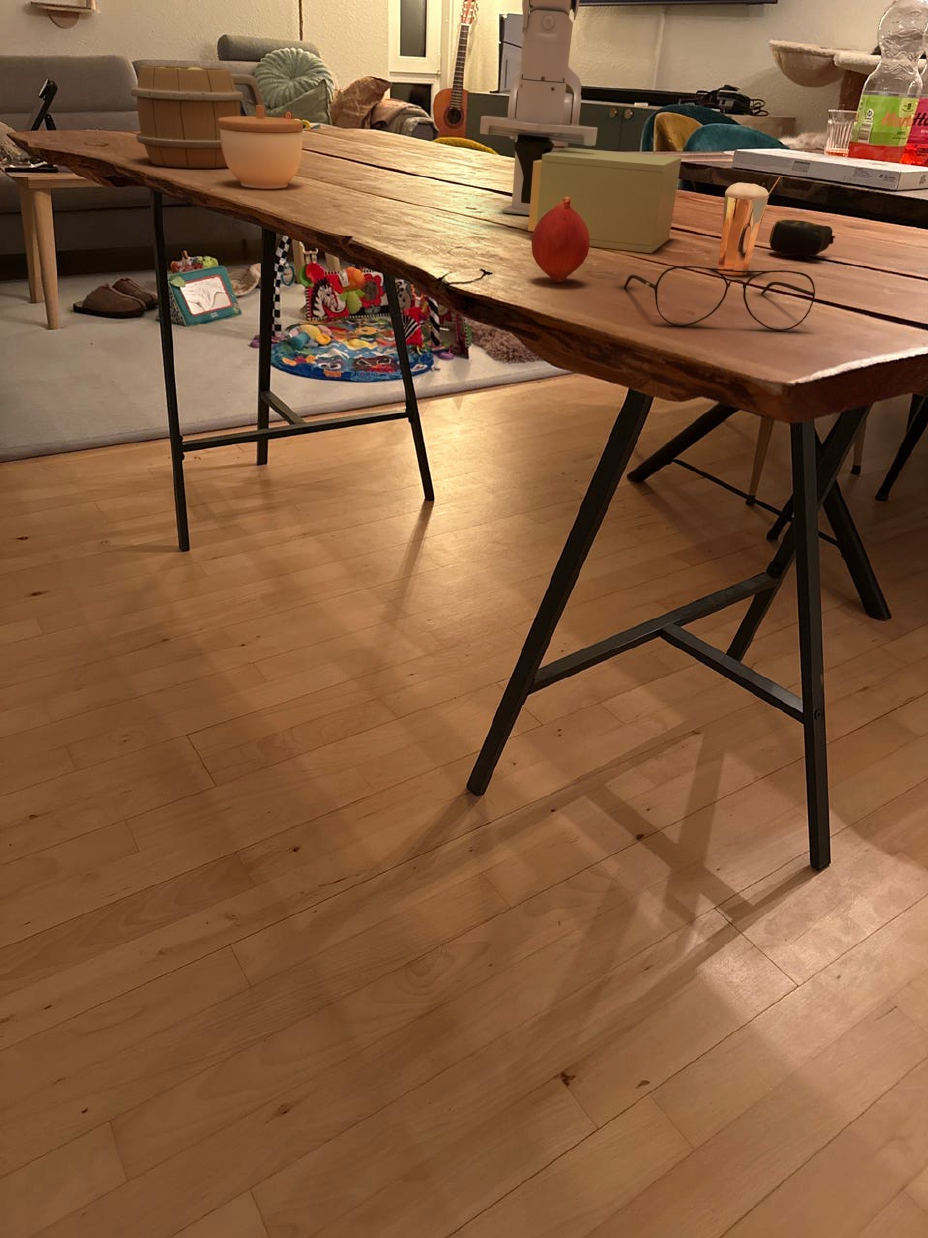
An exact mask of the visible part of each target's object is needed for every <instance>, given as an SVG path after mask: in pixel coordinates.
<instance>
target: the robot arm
mask: <svg viewBox="0 0 928 1238" xmlns="http://www.w3.org/2000/svg"><path fill="white" fill-rule="evenodd" d="M579 6H580V0H521V9H522V28H521V33H522V35H523V38H522V39H523V40H522V41H521V52H520V54H521V55H520V64H519V65H520V66H519V70H518V71H517V72H515V73H514V74H513V78H512V79H511V85H510V91H509V97H508V106H507V107H508V108H507V117H504V116H503V117H501V116H492V115H482V116H480V127H479V134H480V135H494V136H495V135H496V136H503V137H509V139H511V140H514V143H513V145H514V146H513V147H514V164H513V165H514V167H513V179H512V180H513V181H512V193H511V194H512V195H511V205H509V206H506V207H503V208H502V209H501V212H502V213H506V214H514V215H516V214H517V215H525V216H529V214H530V201H531V188H532V175H533V162H534V161H537V160H541V159H542V154H546V153H550V152H554V151H558V150H562V149H566V148H569V144H574V145H575V144H576V145H583V146H586V147H592V146H596V144H597V137H598V129H599V128H598V127H596V126H587V125H580V117H581V103H582V95H581V92H582V82H581V78H580V77H579V75H578V74H577V73H576V72H575V71H574V70H573V69H572V68H571V67H570V66H569V62H570V54H571V45H572V36H573V26H574V22H573V21H576V18H577V15H578V12H579ZM571 11H572V12H573V20H572V19H571V18H570V14H571Z"/></svg>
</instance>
